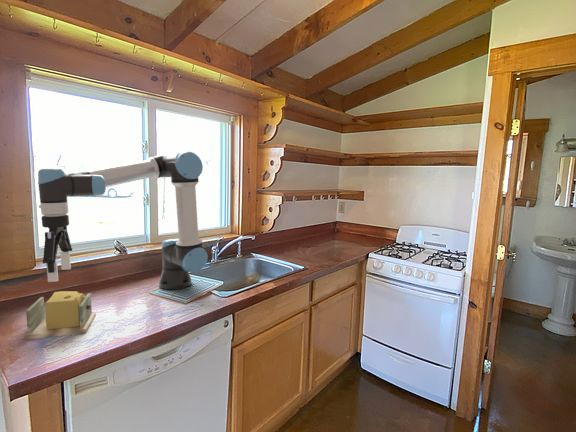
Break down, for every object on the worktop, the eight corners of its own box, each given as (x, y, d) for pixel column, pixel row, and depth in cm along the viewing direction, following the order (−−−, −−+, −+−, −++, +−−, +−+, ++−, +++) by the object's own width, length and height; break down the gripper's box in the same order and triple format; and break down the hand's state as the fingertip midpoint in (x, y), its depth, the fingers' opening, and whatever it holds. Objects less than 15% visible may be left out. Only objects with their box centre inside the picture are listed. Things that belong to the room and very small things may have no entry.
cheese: (88, 314, 123) (86, 289, 122) (80, 327, 113) (78, 299, 112) (55, 317, 120) (54, 291, 119) (44, 331, 110) (42, 302, 109)
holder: (95, 315, 126) (94, 292, 125) (86, 332, 113) (84, 306, 111) (40, 321, 120) (38, 296, 119) (23, 339, 107) (21, 312, 106)
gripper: (54, 210, 122) (59, 265, 125) (26, 220, 98) (32, 288, 101) (78, 209, 124) (82, 264, 127) (55, 220, 101) (60, 286, 104)
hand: (60, 275), depth 114 cm, fingers open, 13 cm apart
